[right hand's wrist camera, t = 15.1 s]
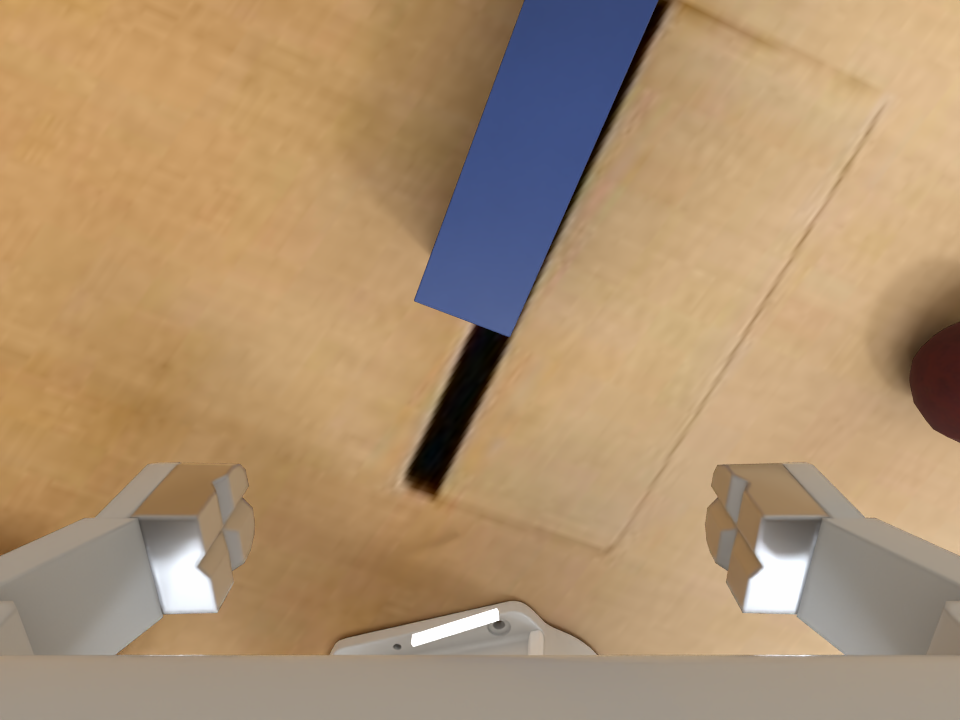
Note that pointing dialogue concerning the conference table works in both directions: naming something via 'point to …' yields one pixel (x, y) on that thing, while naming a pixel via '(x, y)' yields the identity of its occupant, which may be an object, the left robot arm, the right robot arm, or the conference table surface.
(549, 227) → the bar
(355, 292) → the conference table surface
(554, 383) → the conference table surface
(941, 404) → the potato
